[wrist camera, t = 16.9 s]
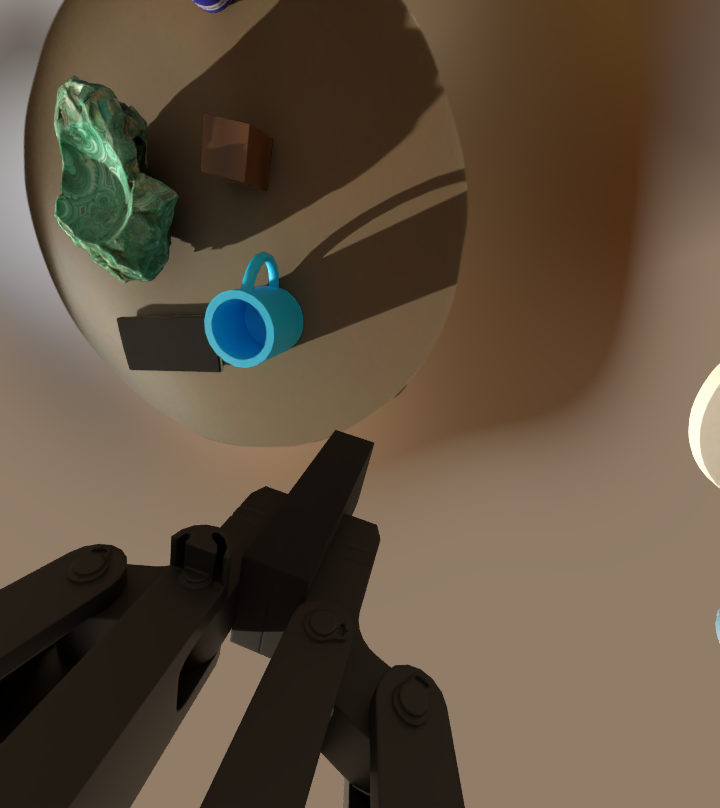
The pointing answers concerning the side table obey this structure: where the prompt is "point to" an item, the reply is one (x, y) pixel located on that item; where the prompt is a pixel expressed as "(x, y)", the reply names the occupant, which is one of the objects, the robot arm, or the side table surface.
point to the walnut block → (235, 152)
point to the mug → (253, 318)
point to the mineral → (110, 183)
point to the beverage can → (212, 5)
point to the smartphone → (168, 344)
